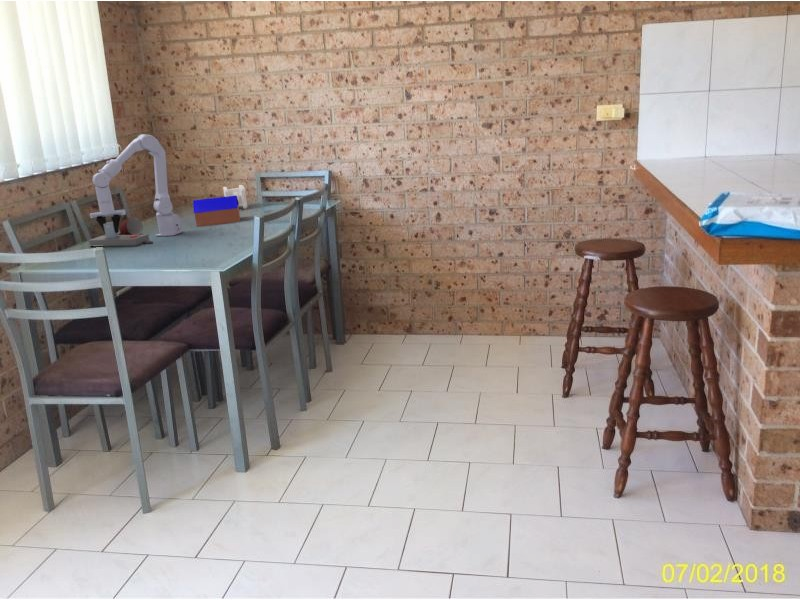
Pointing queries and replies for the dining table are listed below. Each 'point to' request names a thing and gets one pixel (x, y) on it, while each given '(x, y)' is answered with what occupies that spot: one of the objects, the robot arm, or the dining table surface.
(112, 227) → the block
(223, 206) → the blue-topped brown box
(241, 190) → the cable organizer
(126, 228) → the mug
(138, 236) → the power strip
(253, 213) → the dining table surface
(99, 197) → the robot arm
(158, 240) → the dining table surface
